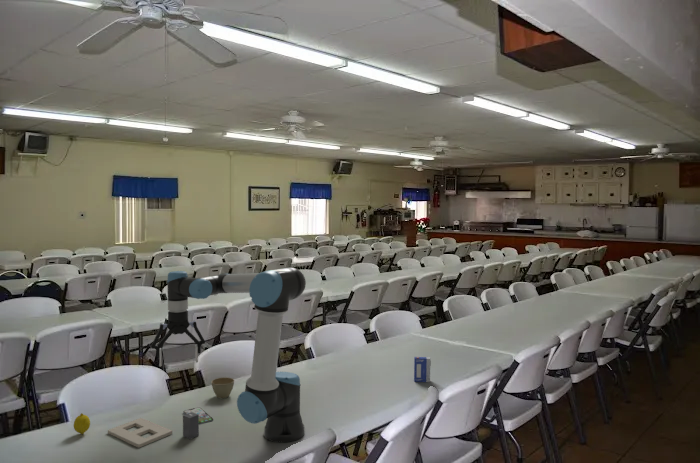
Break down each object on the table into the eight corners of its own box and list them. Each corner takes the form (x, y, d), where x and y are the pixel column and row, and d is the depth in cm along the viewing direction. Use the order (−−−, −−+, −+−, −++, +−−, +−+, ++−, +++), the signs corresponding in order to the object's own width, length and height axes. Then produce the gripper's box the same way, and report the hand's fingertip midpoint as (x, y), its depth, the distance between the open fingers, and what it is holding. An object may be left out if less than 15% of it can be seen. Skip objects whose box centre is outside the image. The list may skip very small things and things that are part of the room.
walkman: (414, 381, 257) (414, 357, 256) (414, 379, 259) (414, 356, 259) (430, 382, 256) (430, 358, 255) (429, 380, 259) (430, 356, 258)
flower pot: (238, 396, 235) (238, 380, 235) (219, 402, 228) (219, 386, 227) (226, 390, 242) (226, 375, 242) (207, 396, 235) (207, 380, 234)
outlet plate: (172, 433, 197) (172, 430, 197) (138, 447, 185) (138, 444, 185) (141, 420, 208) (141, 417, 208) (107, 433, 197) (107, 430, 197)
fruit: (73, 438, 192) (72, 417, 192) (74, 432, 197) (74, 411, 197) (89, 435, 194) (89, 414, 194) (90, 429, 199) (90, 409, 199)
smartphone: (196, 424, 204) (182, 411, 216) (196, 427, 204) (182, 413, 216) (214, 419, 209) (199, 406, 221) (214, 422, 209) (199, 409, 221)
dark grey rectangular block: (198, 435, 196) (198, 414, 195) (189, 439, 192) (189, 417, 192) (191, 432, 198) (191, 411, 197) (183, 436, 195) (182, 415, 194)
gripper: (209, 306, 214) (210, 357, 215) (144, 310, 205) (145, 364, 206) (211, 309, 207) (212, 362, 208) (144, 314, 198) (145, 369, 199)
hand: (178, 363), depth 207 cm, fingers open, 13 cm apart
